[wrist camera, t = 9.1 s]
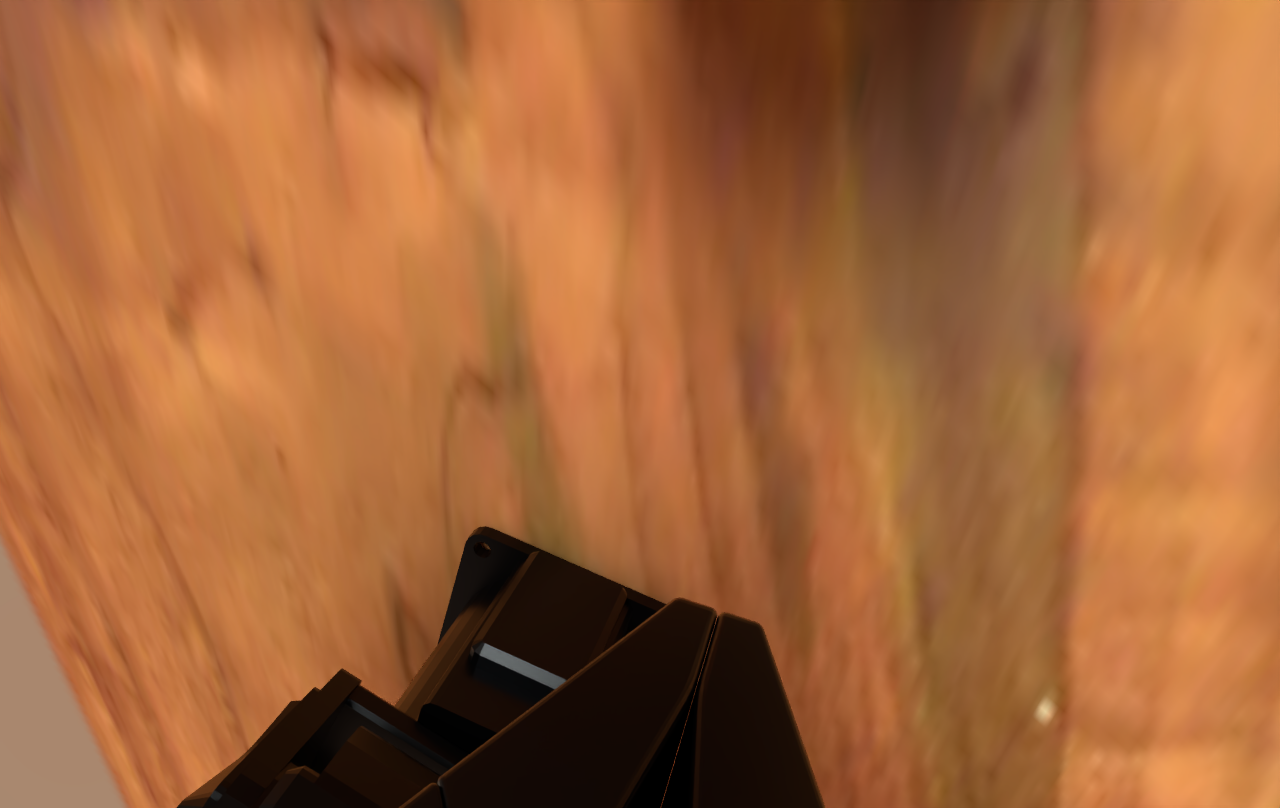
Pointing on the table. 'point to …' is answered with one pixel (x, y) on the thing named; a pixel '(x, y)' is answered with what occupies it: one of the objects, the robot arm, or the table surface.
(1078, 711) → the table surface
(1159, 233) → the table surface
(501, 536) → the robot arm
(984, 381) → the table surface
